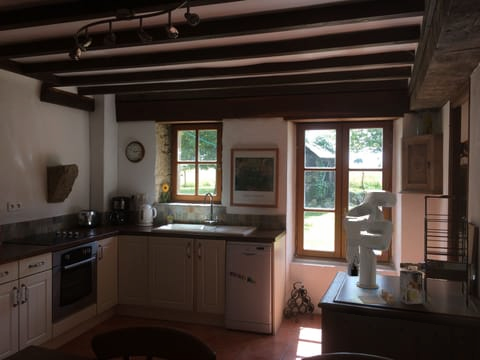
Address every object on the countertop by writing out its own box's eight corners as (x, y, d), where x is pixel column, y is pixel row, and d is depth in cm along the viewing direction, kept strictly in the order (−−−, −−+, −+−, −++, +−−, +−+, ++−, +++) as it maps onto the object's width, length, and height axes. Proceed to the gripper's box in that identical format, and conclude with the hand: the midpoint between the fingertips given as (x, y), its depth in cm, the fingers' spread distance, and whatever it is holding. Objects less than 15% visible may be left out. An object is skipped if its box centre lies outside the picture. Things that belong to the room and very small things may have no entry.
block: (347, 274, 208) (347, 263, 207) (356, 274, 208) (356, 263, 207) (349, 276, 204) (349, 265, 203) (358, 276, 204) (358, 265, 203)
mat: (357, 296, 204) (357, 295, 204) (380, 297, 204) (380, 296, 204) (363, 303, 193) (363, 302, 193) (387, 303, 193) (387, 303, 193)
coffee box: (414, 299, 201) (415, 269, 200) (422, 303, 194) (423, 272, 194) (399, 300, 199) (399, 270, 199) (406, 304, 193) (407, 273, 192)
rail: (381, 296, 205) (381, 289, 204) (385, 296, 204) (385, 289, 204) (389, 304, 193) (389, 296, 192) (393, 304, 192) (393, 296, 192)
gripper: (342, 238, 213) (342, 270, 214) (350, 245, 196) (350, 279, 197) (355, 238, 213) (355, 270, 214) (364, 245, 196) (364, 279, 197)
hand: (353, 274), depth 206 cm, fingers closed on block, 4 cm apart
